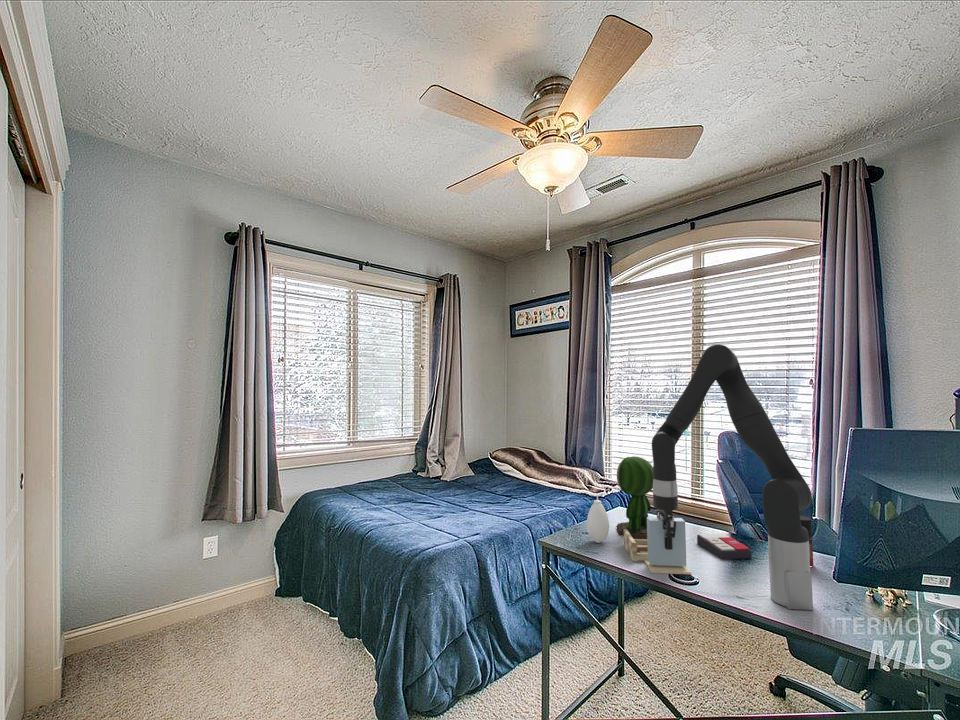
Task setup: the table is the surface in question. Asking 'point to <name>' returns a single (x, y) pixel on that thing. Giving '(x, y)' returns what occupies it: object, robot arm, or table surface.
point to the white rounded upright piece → (597, 522)
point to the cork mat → (667, 569)
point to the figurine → (635, 494)
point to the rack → (634, 547)
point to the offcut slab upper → (641, 548)
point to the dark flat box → (723, 546)
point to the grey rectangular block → (657, 543)
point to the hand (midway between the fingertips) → (666, 546)
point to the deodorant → (808, 525)
